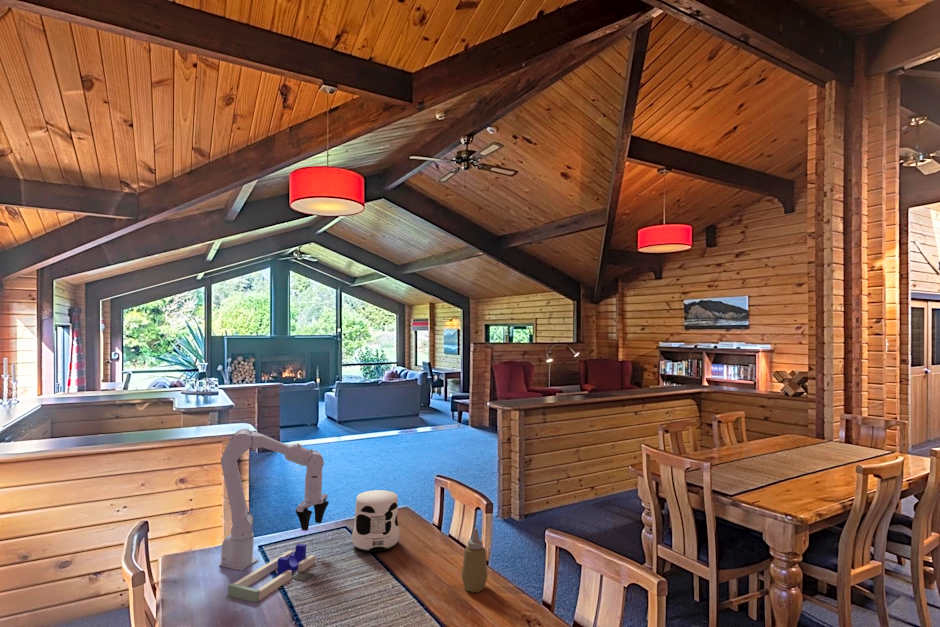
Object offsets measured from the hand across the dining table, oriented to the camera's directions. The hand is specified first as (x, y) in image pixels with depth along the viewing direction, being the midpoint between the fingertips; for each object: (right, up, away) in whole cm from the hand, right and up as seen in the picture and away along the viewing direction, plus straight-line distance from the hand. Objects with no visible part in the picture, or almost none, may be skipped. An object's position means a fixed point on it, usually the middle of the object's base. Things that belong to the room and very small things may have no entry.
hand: (311, 526), depth 172 cm
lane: (-6, -9, -17) cm, 20 cm away
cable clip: (-4, -10, -11) cm, 15 cm away
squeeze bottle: (+57, -11, -21) cm, 62 cm away
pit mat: (+2, -9, -16) cm, 19 cm away
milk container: (+21, -11, +9) cm, 25 cm away
